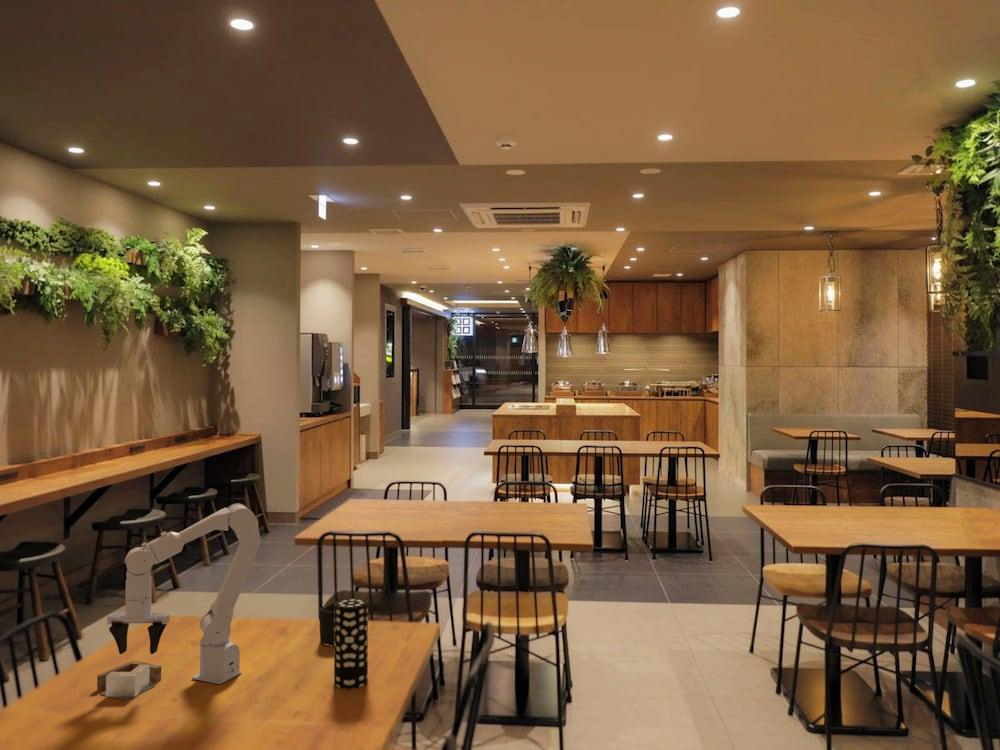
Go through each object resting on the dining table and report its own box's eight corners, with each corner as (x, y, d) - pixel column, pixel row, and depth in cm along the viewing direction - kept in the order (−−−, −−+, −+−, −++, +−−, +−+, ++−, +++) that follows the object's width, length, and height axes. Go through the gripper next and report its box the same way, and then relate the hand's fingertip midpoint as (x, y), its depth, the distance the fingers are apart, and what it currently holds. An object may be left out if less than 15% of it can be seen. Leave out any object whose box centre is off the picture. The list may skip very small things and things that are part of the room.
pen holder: (352, 645, 206) (352, 610, 206) (318, 648, 204) (318, 613, 204) (351, 634, 215) (351, 601, 216) (319, 637, 213) (319, 603, 213)
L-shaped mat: (154, 686, 178) (154, 685, 178) (125, 700, 170) (125, 699, 170) (130, 681, 181) (130, 680, 181) (100, 694, 173) (100, 693, 173)
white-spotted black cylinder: (353, 672, 186) (353, 596, 187) (374, 681, 181) (374, 602, 181) (327, 683, 180) (327, 603, 180) (348, 692, 175) (348, 610, 175)
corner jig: (161, 679, 182) (161, 665, 182) (125, 696, 172) (125, 681, 172) (133, 673, 186) (133, 660, 186) (97, 689, 176) (97, 675, 176)
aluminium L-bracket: (134, 696, 172) (134, 676, 172) (105, 696, 172) (106, 676, 172) (149, 684, 179) (149, 664, 179) (121, 684, 179) (121, 664, 179)
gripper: (175, 592, 180) (175, 646, 180) (118, 592, 180) (117, 646, 180) (161, 601, 173) (161, 657, 173) (102, 601, 173) (102, 657, 173)
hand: (138, 652), depth 176 cm, fingers open, 7 cm apart
